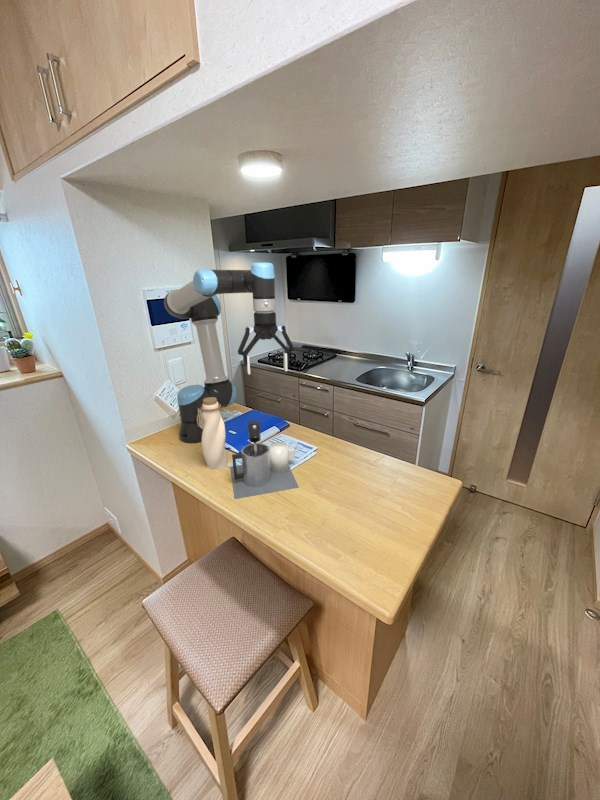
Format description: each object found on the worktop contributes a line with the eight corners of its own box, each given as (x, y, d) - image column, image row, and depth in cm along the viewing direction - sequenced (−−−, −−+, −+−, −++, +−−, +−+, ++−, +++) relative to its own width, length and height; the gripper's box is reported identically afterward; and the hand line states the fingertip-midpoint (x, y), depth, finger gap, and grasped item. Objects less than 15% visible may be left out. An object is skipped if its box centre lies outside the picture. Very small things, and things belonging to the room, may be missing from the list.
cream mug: (267, 463, 123) (266, 443, 120) (292, 459, 126) (291, 439, 122) (271, 474, 116) (269, 453, 113) (297, 470, 119) (296, 449, 116)
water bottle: (213, 477, 117) (204, 407, 107) (198, 469, 122) (188, 401, 112) (234, 464, 125) (227, 398, 115) (219, 457, 130) (212, 393, 120)
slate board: (230, 468, 122) (229, 466, 122) (285, 460, 128) (285, 458, 127) (234, 501, 104) (234, 499, 104) (298, 489, 110) (298, 487, 109)
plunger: (245, 468, 115) (241, 420, 108) (265, 465, 117) (262, 418, 110) (248, 480, 109) (243, 429, 102) (269, 476, 111) (266, 426, 104)
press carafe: (233, 475, 116) (230, 446, 112) (268, 469, 120) (266, 441, 115) (236, 491, 108) (233, 460, 103) (273, 484, 111) (271, 454, 107)
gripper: (228, 314, 101) (233, 377, 109) (302, 311, 108) (303, 371, 115) (226, 312, 108) (232, 371, 116) (297, 309, 114) (297, 366, 122)
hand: (267, 371), depth 116 cm, fingers open, 13 cm apart
